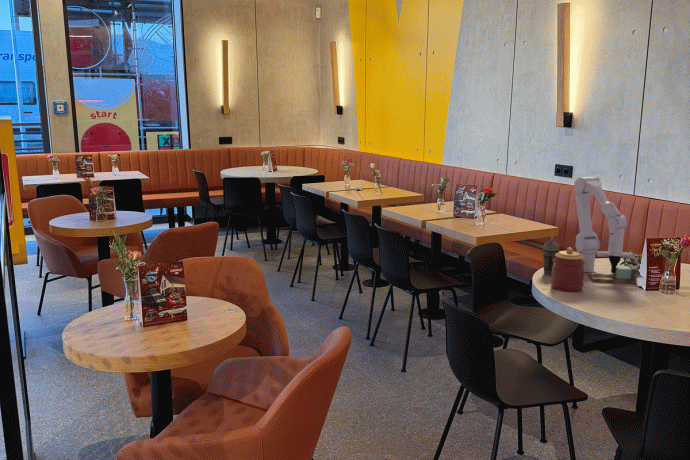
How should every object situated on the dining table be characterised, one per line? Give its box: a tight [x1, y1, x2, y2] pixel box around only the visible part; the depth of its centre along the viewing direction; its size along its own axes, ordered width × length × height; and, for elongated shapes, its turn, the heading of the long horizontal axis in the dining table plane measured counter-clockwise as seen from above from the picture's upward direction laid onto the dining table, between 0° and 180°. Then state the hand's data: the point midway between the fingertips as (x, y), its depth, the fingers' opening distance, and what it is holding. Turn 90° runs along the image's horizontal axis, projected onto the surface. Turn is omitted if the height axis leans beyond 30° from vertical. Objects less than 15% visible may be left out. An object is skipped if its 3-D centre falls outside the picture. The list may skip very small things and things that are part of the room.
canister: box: [550, 246, 585, 293], centre depth 253 cm, size 13×13×18 cm
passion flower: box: [619, 250, 643, 274], centre depth 280 cm, size 11×11×12 cm
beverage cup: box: [542, 231, 560, 277], centre depth 273 cm, size 7×7×20 cm
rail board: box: [587, 263, 638, 285], centre depth 266 cm, size 18×10×6 cm, turn 80°
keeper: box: [612, 265, 632, 279], centre depth 265 cm, size 6×6×4 cm
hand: (613, 272), depth 265 cm, fingers closed
